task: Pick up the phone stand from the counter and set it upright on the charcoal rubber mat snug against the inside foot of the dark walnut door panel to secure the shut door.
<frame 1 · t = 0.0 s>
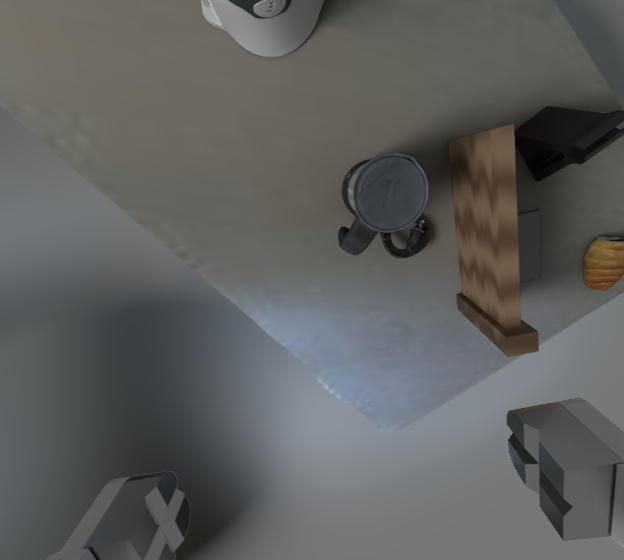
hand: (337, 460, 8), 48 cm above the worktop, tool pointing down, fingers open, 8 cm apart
pastry: (600, 257, 55), on the worktop
door mat: (506, 251, 55), on the worktop
milk frother: (385, 208, 53), on the worktop
door panel: (461, 221, 53), on the worktop
phone stand: (539, 145, 50), on the worktop
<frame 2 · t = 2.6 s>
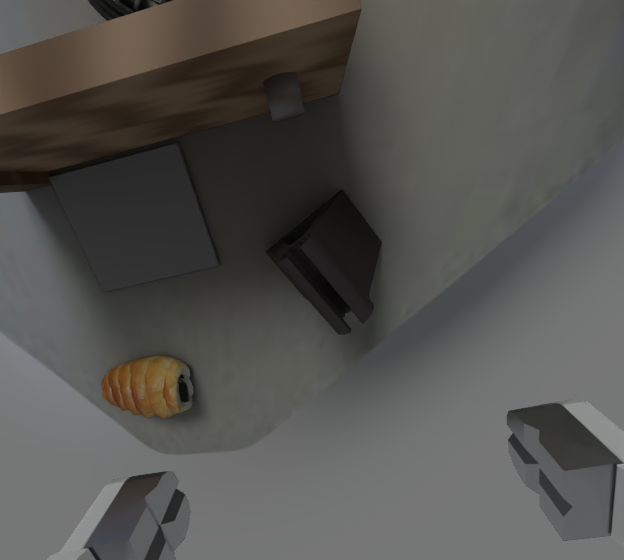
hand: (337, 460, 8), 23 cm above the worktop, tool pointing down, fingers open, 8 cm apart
pastry: (160, 378, 35), on the worktop
door mat: (139, 222, 29), on the worktop
door panel: (183, 121, 27), on the worktop
phone stand: (323, 245, 30), on the worktop
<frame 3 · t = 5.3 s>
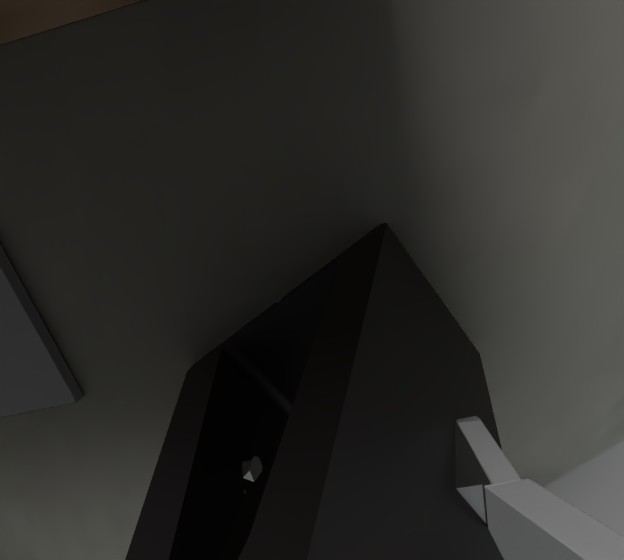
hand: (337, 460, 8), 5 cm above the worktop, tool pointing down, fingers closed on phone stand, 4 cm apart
phone stand: (329, 354, 12), on the worktop, touching gripper
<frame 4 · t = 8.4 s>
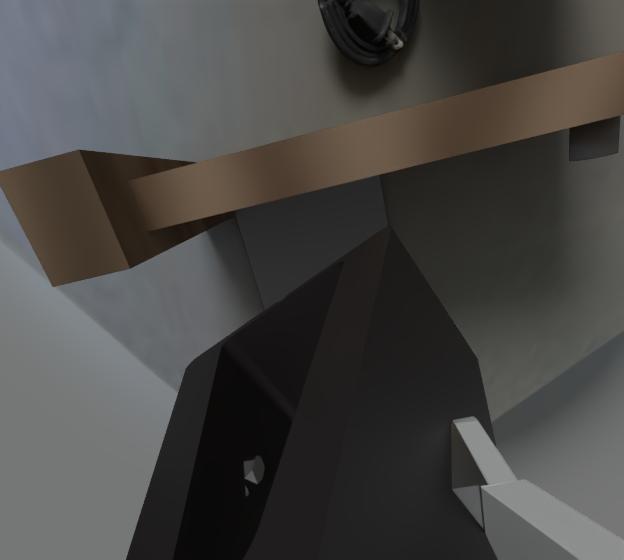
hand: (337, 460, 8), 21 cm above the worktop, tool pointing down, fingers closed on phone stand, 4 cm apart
door mat: (320, 255, 27), on the worktop
door panel: (388, 150, 25), on the worktop
phone stand: (329, 354, 12), point 16 cm above the worktop, touching gripper
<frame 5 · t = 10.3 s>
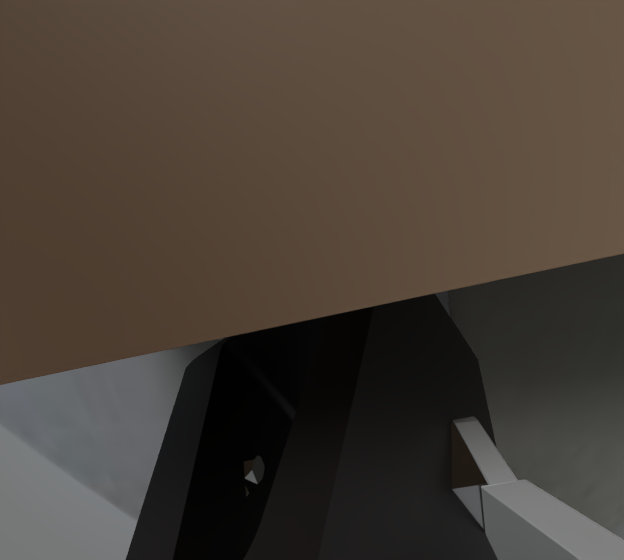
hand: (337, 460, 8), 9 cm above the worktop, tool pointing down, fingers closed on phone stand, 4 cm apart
door panel: (450, 129, 14), on the worktop
phone stand: (329, 354, 12), point 4 cm above the worktop, touching gripper
when the fingers open (6 cm above the worktop, at t = 11.7 s): phone stand drops 1 cm, resting on door mat.
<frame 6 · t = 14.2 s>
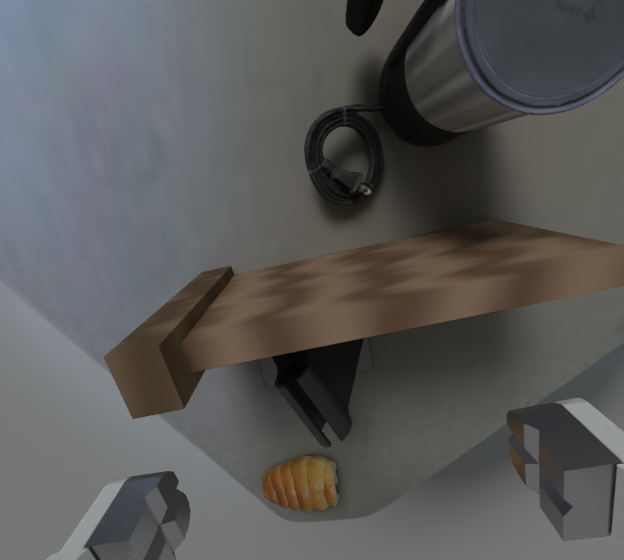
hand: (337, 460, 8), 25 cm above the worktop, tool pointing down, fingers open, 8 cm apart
pastry: (306, 472, 40), on the worktop
door mat: (309, 333, 34), on the worktop
milk frother: (393, 123, 28), on the worktop
door panel: (362, 257, 32), on the worktop
phone stand: (312, 334, 34), resting on door mat
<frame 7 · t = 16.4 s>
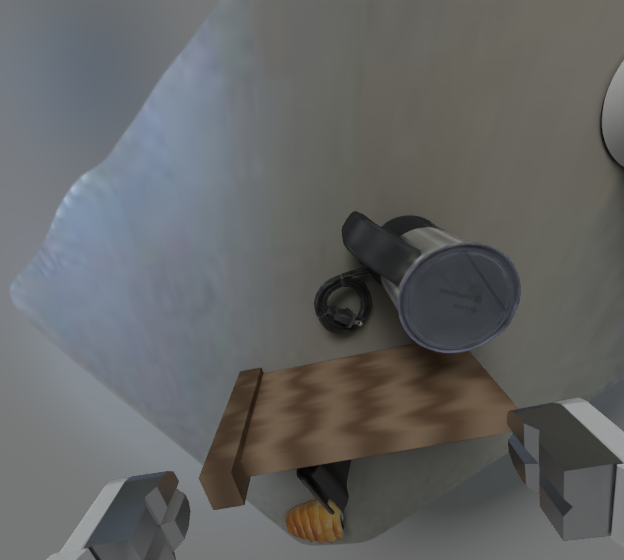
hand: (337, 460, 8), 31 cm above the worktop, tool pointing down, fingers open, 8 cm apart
pastry: (319, 511, 52), on the worktop
milk frother: (378, 274, 39), on the worktop
door panel: (358, 361, 43), on the worktop
phone stand: (321, 413, 45), resting on door mat
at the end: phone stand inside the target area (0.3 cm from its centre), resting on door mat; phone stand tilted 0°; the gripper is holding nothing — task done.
